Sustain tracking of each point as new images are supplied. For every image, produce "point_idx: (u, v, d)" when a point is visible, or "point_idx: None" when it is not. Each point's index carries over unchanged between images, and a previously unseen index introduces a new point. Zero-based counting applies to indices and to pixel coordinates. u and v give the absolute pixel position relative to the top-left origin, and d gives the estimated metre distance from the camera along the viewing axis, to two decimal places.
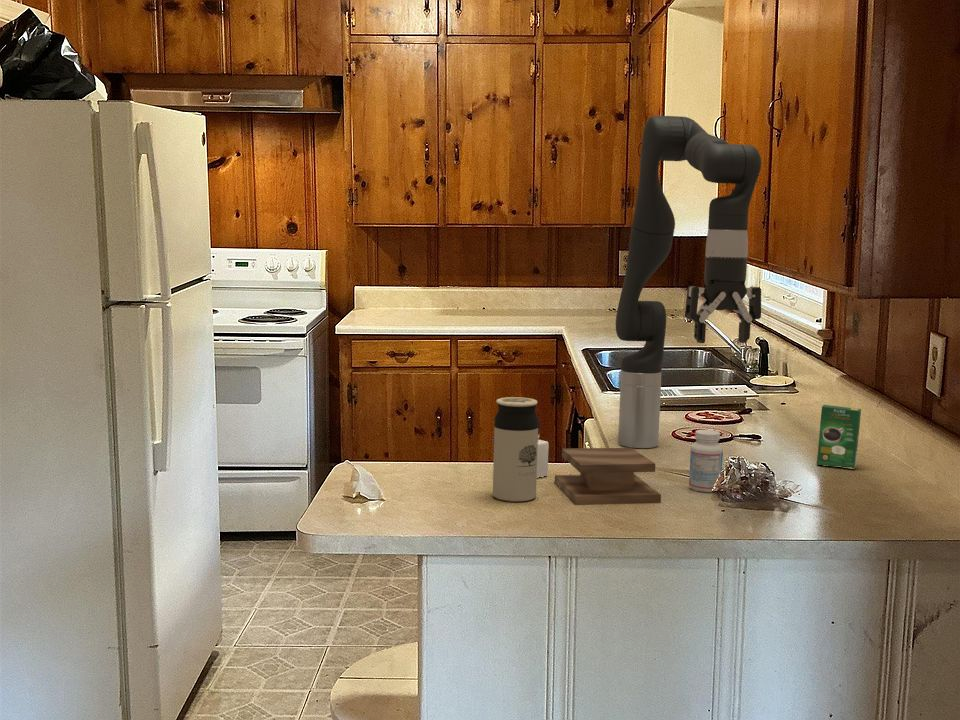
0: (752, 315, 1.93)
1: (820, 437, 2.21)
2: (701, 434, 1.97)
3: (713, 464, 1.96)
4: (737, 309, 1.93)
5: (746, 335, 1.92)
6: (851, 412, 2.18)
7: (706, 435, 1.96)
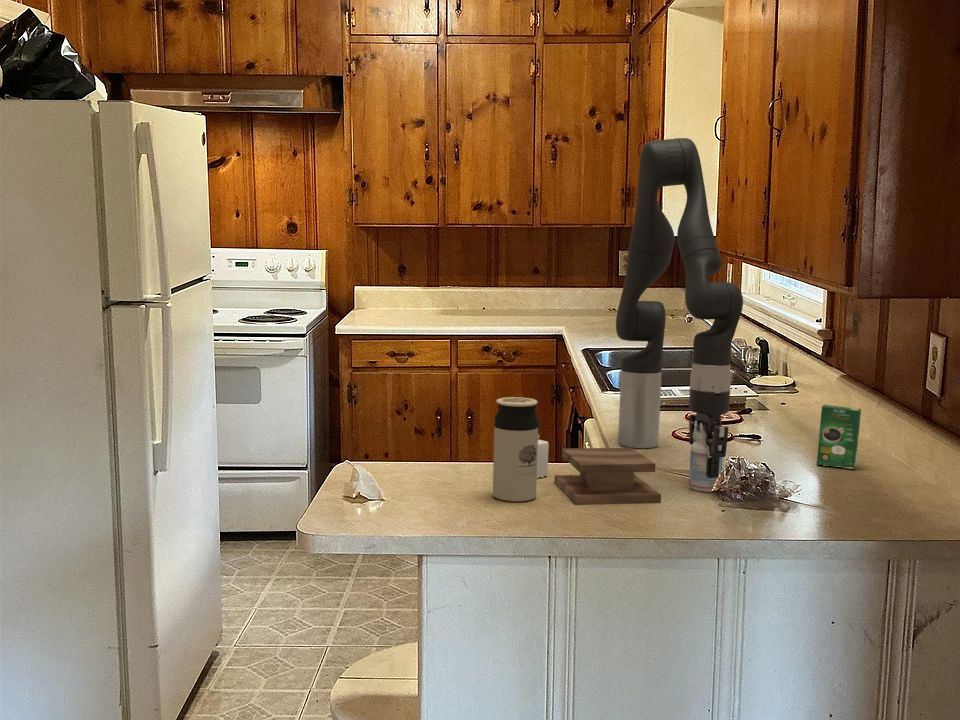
0: None
1: (820, 437, 2.21)
2: (701, 434, 1.97)
3: None
4: None
5: None
6: (851, 412, 2.18)
7: None
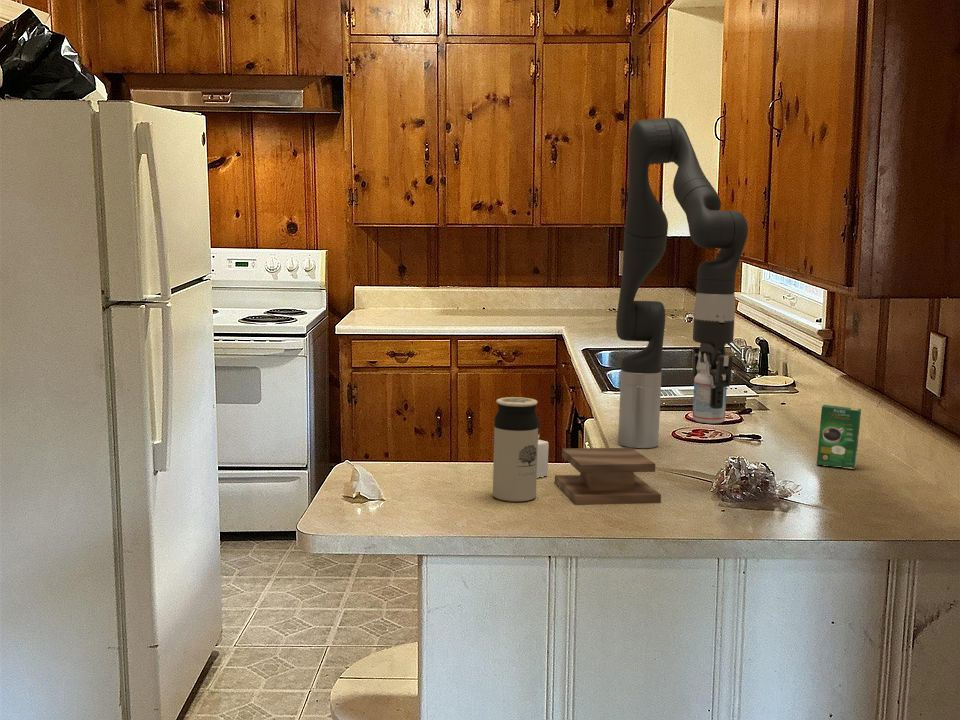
0: None
1: (820, 437, 2.21)
2: (705, 364, 1.95)
3: None
4: None
5: None
6: (851, 412, 2.18)
7: None
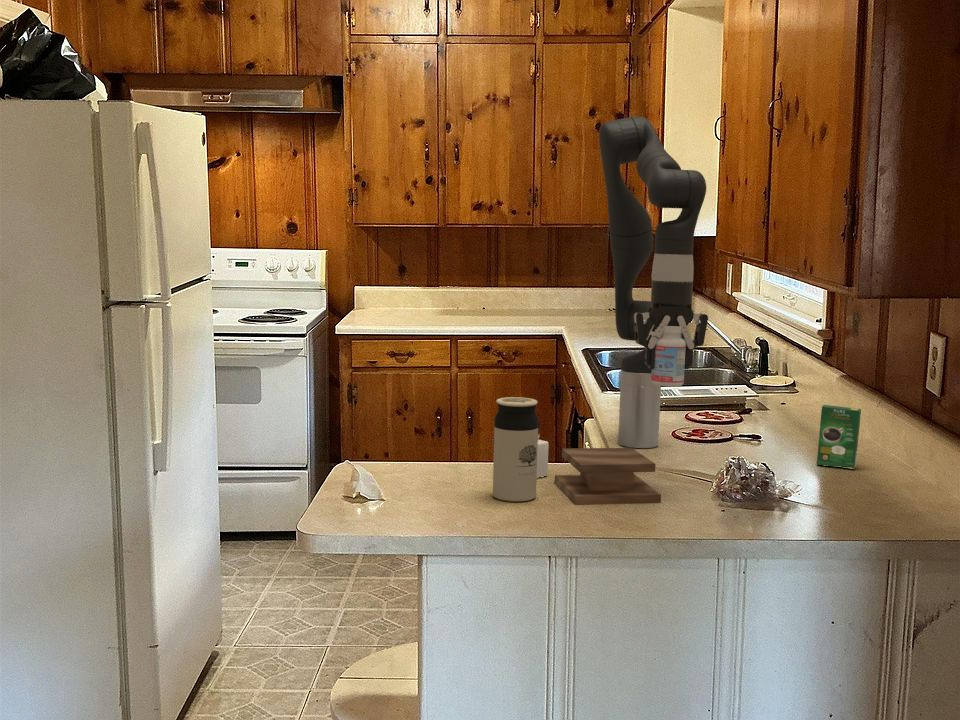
0: None
1: (820, 437, 2.21)
2: (680, 327, 1.92)
3: None
4: None
5: None
6: (851, 412, 2.18)
7: None
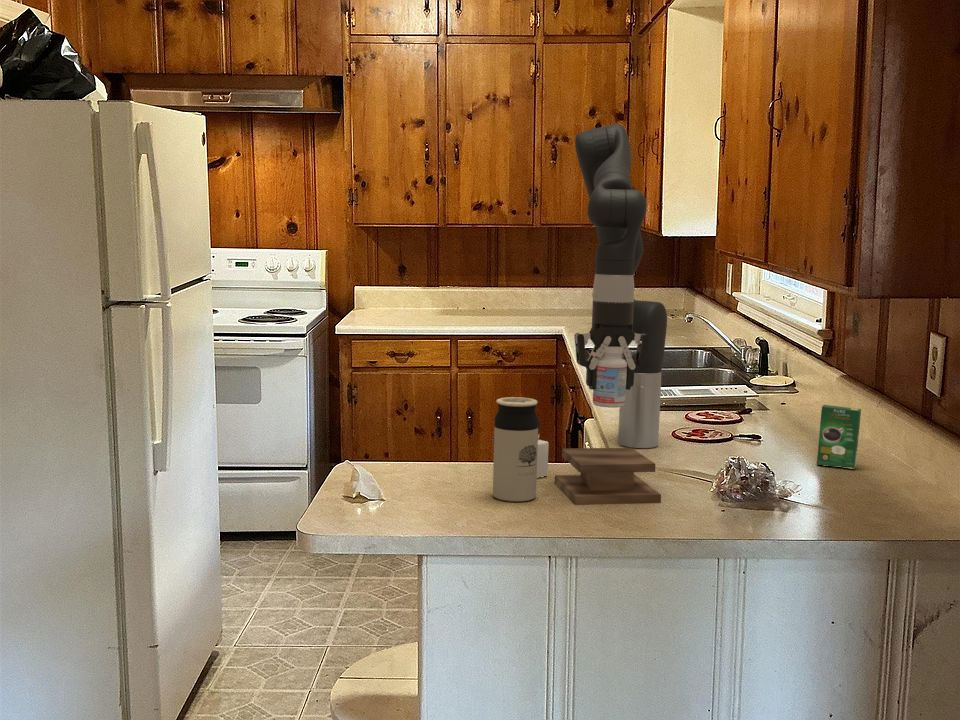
0: None
1: (820, 437, 2.21)
2: (621, 347, 1.91)
3: None
4: None
5: None
6: (851, 412, 2.18)
7: None
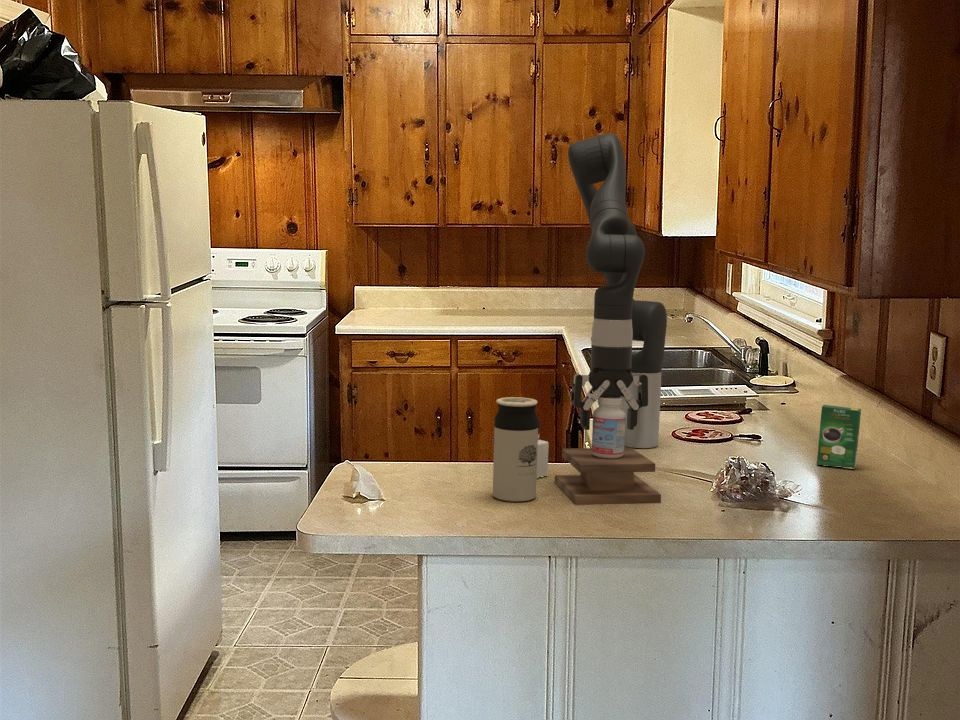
0: None
1: (820, 437, 2.21)
2: (620, 399, 1.92)
3: None
4: None
5: None
6: (851, 412, 2.18)
7: (622, 399, 1.93)
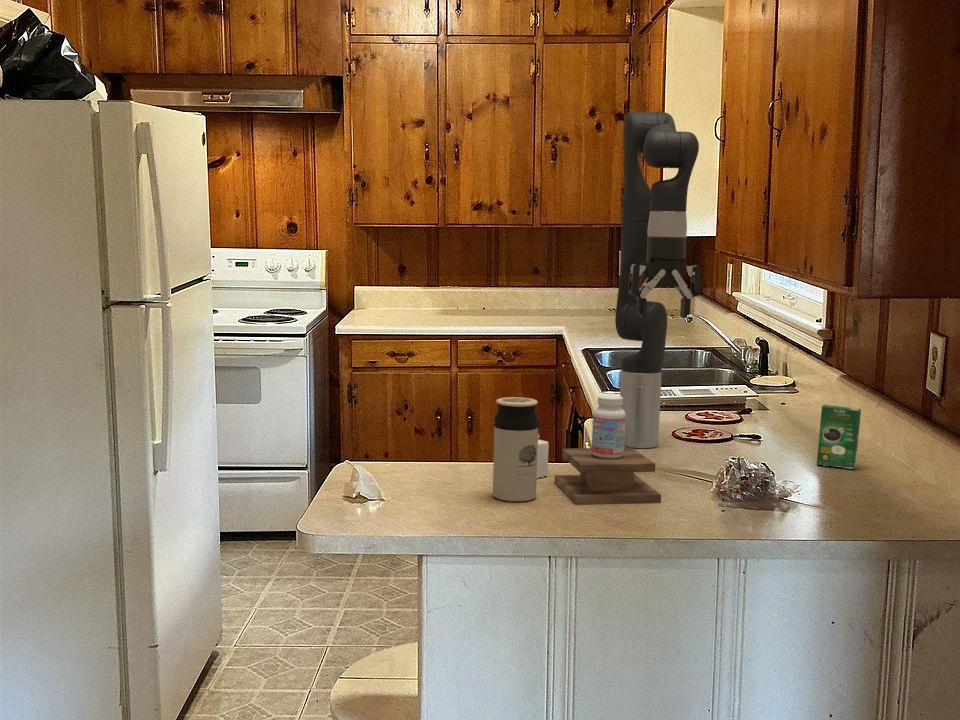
0: None
1: (820, 437, 2.21)
2: (620, 399, 1.92)
3: None
4: None
5: None
6: (851, 412, 2.18)
7: (622, 399, 1.93)
